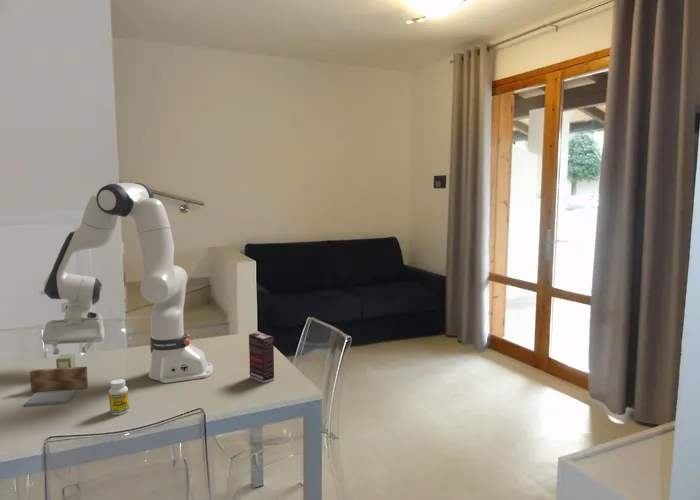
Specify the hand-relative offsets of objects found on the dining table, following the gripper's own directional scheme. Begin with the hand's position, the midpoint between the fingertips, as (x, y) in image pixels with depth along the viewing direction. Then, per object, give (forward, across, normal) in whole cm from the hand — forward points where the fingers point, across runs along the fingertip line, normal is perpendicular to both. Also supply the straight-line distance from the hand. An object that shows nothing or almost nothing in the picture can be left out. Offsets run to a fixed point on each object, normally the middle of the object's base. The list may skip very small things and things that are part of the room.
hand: (70, 353), depth 183 cm
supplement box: (+16, +67, -4) cm, 69 cm away
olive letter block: (+10, 0, +3) cm, 10 cm away
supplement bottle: (+30, +24, -18) cm, 42 cm away
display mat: (+20, 0, -8) cm, 22 cm away
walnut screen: (+14, 0, -2) cm, 15 cm away
